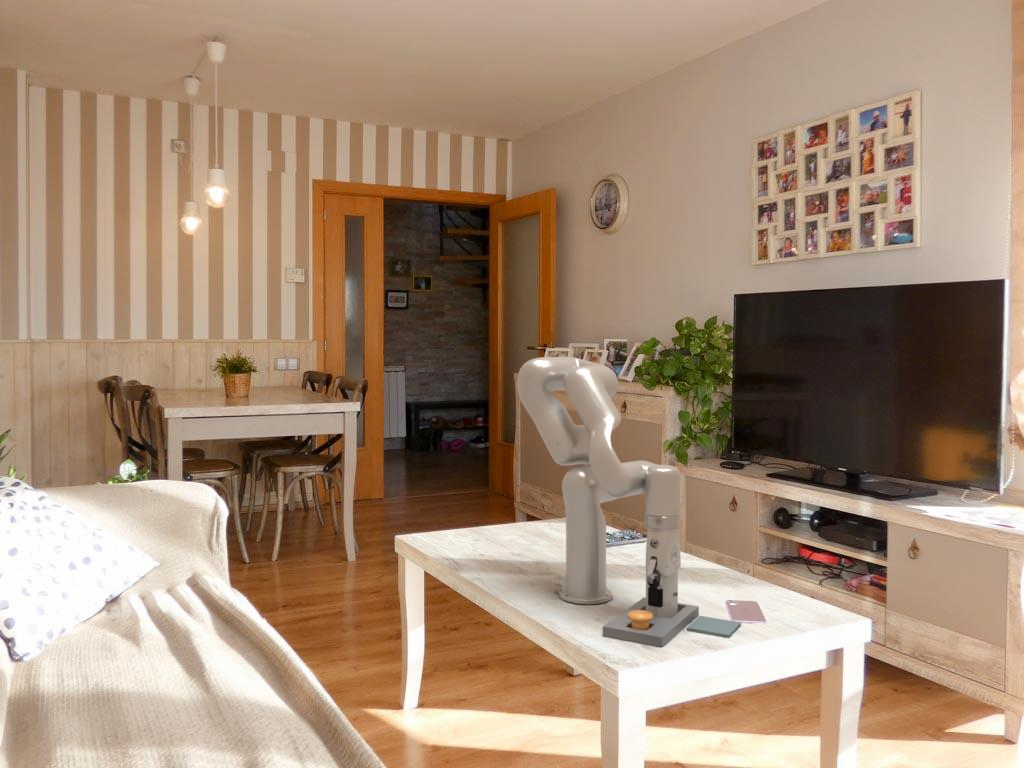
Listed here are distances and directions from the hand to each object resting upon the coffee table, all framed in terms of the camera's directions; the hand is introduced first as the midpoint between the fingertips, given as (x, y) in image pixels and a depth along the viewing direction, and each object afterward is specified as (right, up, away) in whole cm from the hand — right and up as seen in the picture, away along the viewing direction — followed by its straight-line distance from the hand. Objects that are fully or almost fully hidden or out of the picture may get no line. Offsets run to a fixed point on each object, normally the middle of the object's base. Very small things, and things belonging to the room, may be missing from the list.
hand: (661, 600), depth 188 cm
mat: (+10, -4, -6) cm, 13 cm away
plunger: (-6, -4, -11) cm, 13 cm away
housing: (-3, -4, -5) cm, 7 cm away
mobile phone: (+20, -4, +4) cm, 20 cm away
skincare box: (0, -4, 0) cm, 4 cm away
